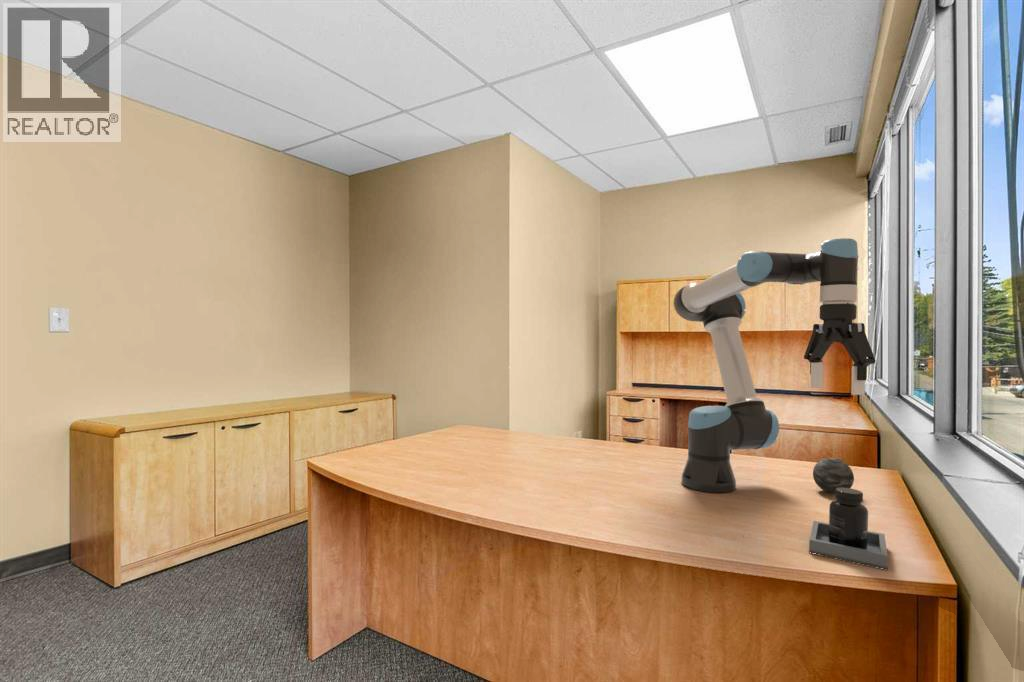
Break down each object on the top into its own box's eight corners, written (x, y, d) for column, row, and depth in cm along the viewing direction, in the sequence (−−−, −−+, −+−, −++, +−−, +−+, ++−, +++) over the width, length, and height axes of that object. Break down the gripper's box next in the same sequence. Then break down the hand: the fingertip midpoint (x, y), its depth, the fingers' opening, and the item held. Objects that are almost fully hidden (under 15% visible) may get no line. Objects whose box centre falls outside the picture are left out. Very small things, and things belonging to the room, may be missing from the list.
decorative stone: (840, 488, 149) (841, 454, 149) (861, 499, 139) (862, 463, 139) (805, 487, 150) (806, 453, 149) (824, 498, 140) (825, 462, 139)
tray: (809, 553, 104) (809, 539, 104) (813, 532, 115) (813, 520, 115) (887, 570, 97) (887, 555, 97) (884, 547, 107) (884, 534, 107)
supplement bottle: (873, 556, 102) (875, 497, 101) (836, 552, 103) (837, 494, 103) (858, 542, 108) (859, 486, 108) (823, 539, 110) (824, 484, 109)
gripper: (896, 300, 109) (894, 397, 110) (816, 306, 134) (814, 385, 134) (864, 300, 109) (862, 397, 109) (789, 306, 133) (788, 385, 134)
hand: (836, 391), depth 122 cm, fingers open, 13 cm apart
